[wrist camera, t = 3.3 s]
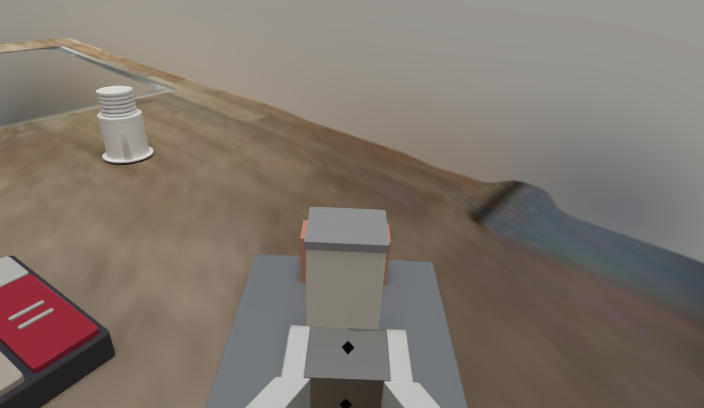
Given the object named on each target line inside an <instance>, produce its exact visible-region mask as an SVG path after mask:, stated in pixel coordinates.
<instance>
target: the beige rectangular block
mask: <svg viewBox="0 0 704 408" xmlns="http://www.w3.org/2000/svg"><path fill="white" fill-rule="evenodd" d="M304 250H306V326H317V327H332V328H347V329H348V328H358V329H378V327H379V318H380V309H381V300H382V290H383V281H384V272H385V263H386V254H387V253H388V252H389V239H388V230H387V221H386V212H385V210H371V209H350V208H328V207H310V211H309V216H308V222H307V228H306V234H305V239H304Z"/></svg>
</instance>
